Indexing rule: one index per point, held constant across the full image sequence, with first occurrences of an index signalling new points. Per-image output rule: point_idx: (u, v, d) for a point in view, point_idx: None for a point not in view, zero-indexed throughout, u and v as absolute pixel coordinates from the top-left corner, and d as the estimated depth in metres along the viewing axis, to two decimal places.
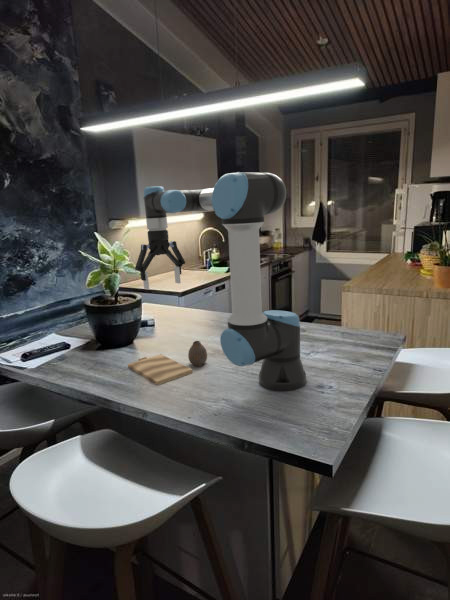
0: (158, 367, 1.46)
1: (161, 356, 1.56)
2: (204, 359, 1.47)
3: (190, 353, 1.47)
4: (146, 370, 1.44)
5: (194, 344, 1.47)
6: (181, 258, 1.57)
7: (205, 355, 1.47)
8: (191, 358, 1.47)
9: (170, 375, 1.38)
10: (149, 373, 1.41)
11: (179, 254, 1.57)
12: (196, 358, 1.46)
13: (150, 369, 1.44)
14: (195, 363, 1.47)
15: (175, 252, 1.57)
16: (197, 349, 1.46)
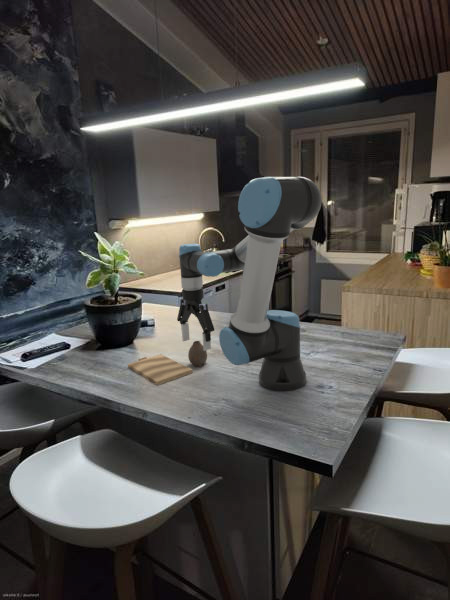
0: (158, 367, 1.46)
1: (161, 356, 1.56)
2: (204, 359, 1.47)
3: (190, 353, 1.47)
4: (146, 370, 1.44)
5: (194, 344, 1.47)
6: (206, 325, 1.39)
7: (205, 355, 1.47)
8: (191, 358, 1.47)
9: (170, 375, 1.38)
10: (149, 373, 1.41)
11: (204, 320, 1.39)
12: (196, 358, 1.46)
13: (150, 369, 1.44)
14: (195, 363, 1.47)
15: None
16: (198, 349, 1.46)
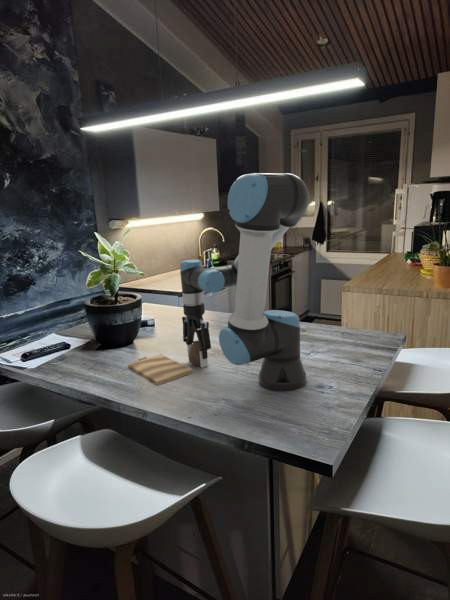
0: (158, 367, 1.46)
1: (161, 356, 1.56)
2: None
3: (190, 353, 1.47)
4: (146, 370, 1.44)
5: (194, 344, 1.47)
6: (203, 343, 1.42)
7: None
8: (191, 358, 1.47)
9: (170, 375, 1.38)
10: (149, 373, 1.41)
11: (203, 338, 1.42)
12: (196, 358, 1.46)
13: (150, 369, 1.44)
14: (195, 363, 1.47)
15: None
16: (197, 349, 1.46)
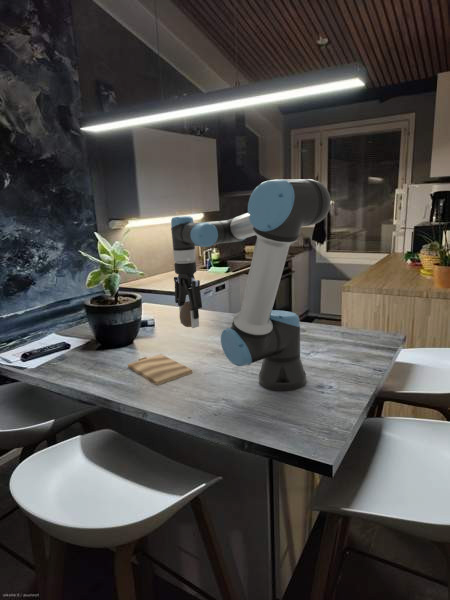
0: (158, 367, 1.46)
1: (161, 356, 1.56)
2: None
3: (181, 313, 1.43)
4: (146, 370, 1.44)
5: (185, 304, 1.44)
6: (194, 302, 1.39)
7: None
8: (182, 318, 1.43)
9: (170, 375, 1.38)
10: (149, 373, 1.41)
11: (193, 296, 1.38)
12: (187, 318, 1.43)
13: (150, 369, 1.44)
14: (186, 323, 1.43)
15: None
16: (189, 309, 1.43)
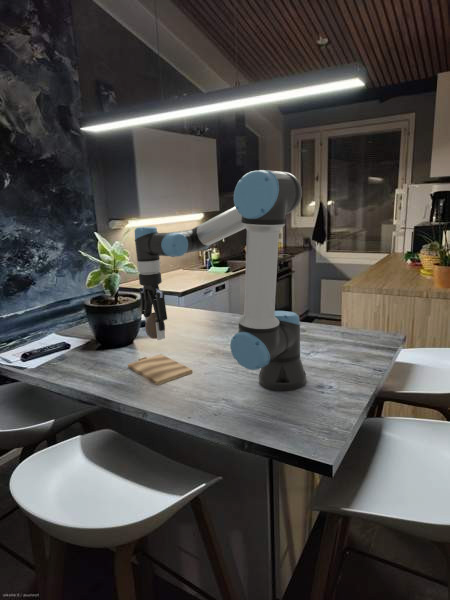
0: (158, 367, 1.46)
1: (161, 356, 1.56)
2: None
3: (146, 325, 1.41)
4: (146, 370, 1.44)
5: (151, 315, 1.41)
6: (159, 313, 1.36)
7: None
8: (147, 330, 1.41)
9: (170, 375, 1.38)
10: (149, 373, 1.41)
11: (158, 308, 1.36)
12: (152, 330, 1.40)
13: (150, 369, 1.44)
14: (152, 335, 1.41)
15: None
16: (154, 320, 1.40)
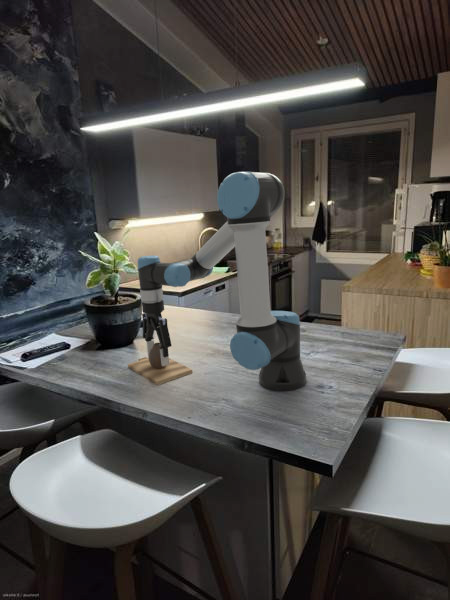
0: None
1: None
2: None
3: (150, 355, 1.43)
4: (146, 370, 1.44)
5: (154, 346, 1.43)
6: (163, 340, 1.38)
7: None
8: (151, 360, 1.43)
9: (170, 375, 1.38)
10: (149, 373, 1.41)
11: (162, 335, 1.38)
12: (155, 361, 1.43)
13: (150, 369, 1.44)
14: (155, 365, 1.43)
15: None
16: (157, 351, 1.43)
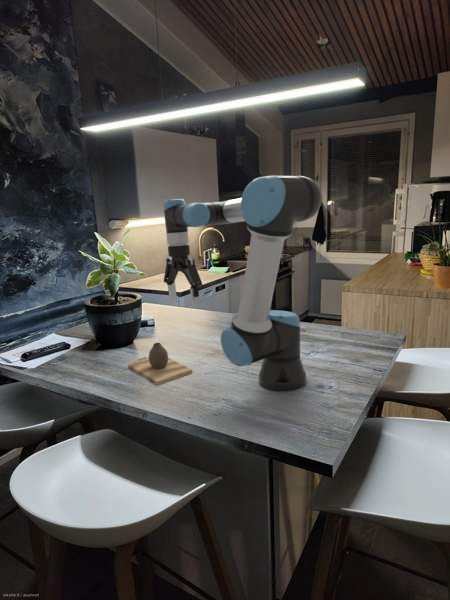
0: None
1: None
2: (164, 361, 1.44)
3: (150, 355, 1.43)
4: (146, 370, 1.44)
5: (154, 346, 1.44)
6: (193, 279, 1.37)
7: (165, 357, 1.44)
8: (151, 360, 1.43)
9: (170, 375, 1.38)
10: (149, 373, 1.41)
11: (191, 274, 1.38)
12: (155, 361, 1.43)
13: (150, 369, 1.44)
14: (155, 365, 1.43)
15: None
16: (157, 351, 1.43)
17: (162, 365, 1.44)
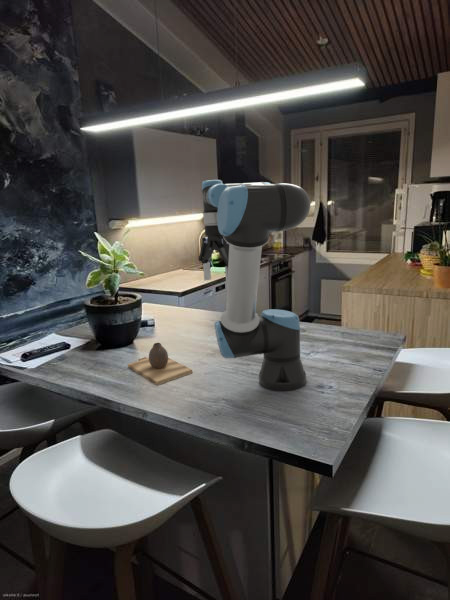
0: None
1: None
2: (164, 361, 1.44)
3: (150, 355, 1.43)
4: (146, 370, 1.44)
5: (154, 346, 1.44)
6: (228, 258, 1.43)
7: (165, 357, 1.44)
8: (151, 360, 1.43)
9: (170, 375, 1.38)
10: (149, 373, 1.41)
11: (227, 253, 1.44)
12: (155, 361, 1.43)
13: (150, 369, 1.44)
14: (155, 365, 1.43)
15: None
16: (157, 351, 1.43)
17: (162, 365, 1.44)
